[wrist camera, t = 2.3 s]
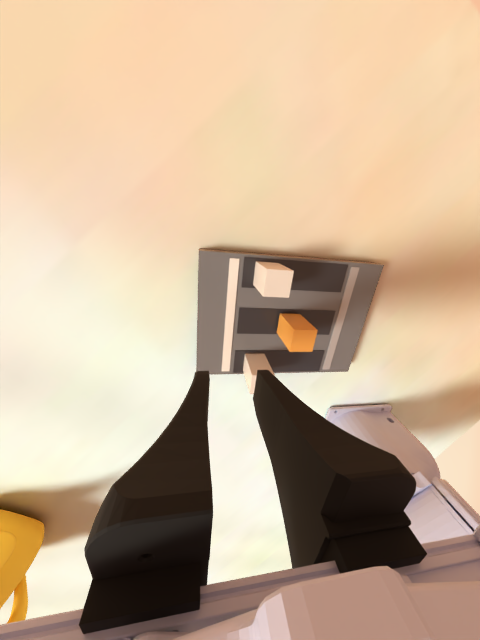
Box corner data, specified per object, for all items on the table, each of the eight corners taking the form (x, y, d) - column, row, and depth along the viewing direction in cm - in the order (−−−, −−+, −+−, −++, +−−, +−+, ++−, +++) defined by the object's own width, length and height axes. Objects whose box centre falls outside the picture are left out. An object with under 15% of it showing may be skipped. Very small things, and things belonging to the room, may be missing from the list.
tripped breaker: (300, 313, 21) (317, 330, 18) (295, 333, 22) (312, 351, 19) (279, 313, 21) (294, 329, 17) (276, 332, 21) (289, 351, 18)
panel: (373, 262, 22) (417, 272, 17) (340, 364, 27) (369, 393, 22) (199, 248, 19) (198, 256, 14) (196, 366, 24) (195, 400, 19)
